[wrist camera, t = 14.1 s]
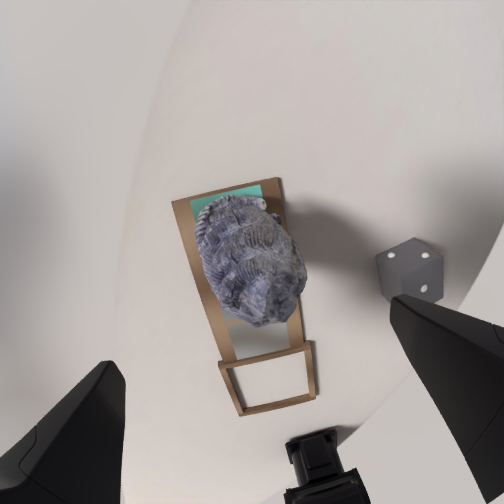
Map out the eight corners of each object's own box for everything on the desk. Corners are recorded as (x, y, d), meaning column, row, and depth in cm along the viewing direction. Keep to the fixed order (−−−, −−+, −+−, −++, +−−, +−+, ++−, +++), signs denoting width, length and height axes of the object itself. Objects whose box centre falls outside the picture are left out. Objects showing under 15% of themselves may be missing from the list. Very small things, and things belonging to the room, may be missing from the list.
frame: (314, 394, 27) (315, 399, 27) (239, 412, 27) (239, 416, 27) (308, 340, 24) (310, 344, 24) (218, 361, 24) (218, 365, 24)
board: (303, 348, 25) (304, 350, 24) (225, 366, 24) (226, 368, 24) (276, 177, 19) (277, 177, 19) (171, 201, 19) (171, 202, 18)
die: (419, 274, 23) (446, 297, 20) (381, 294, 24) (405, 320, 20) (415, 234, 22) (445, 253, 18) (374, 253, 22) (401, 276, 18)
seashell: (274, 180, 19) (330, 227, 9) (281, 256, 21) (328, 351, 11) (191, 192, 18) (165, 252, 9) (205, 268, 20) (200, 372, 11)
